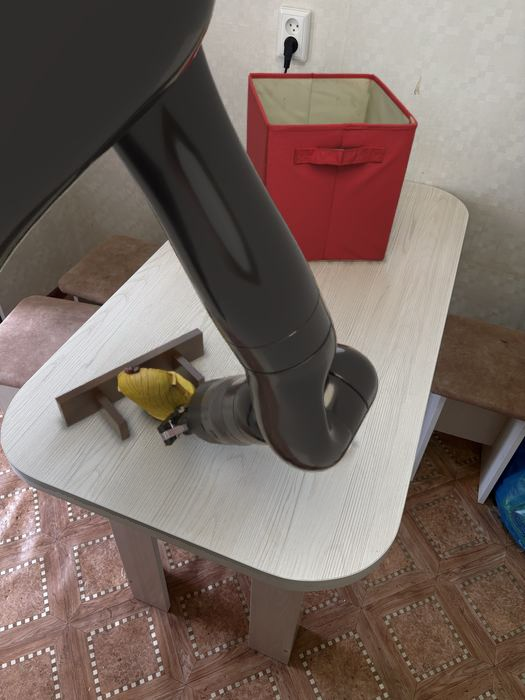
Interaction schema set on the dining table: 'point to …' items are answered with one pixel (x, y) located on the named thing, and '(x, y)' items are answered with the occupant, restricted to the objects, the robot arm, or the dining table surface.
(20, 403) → the dining table surface
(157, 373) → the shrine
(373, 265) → the dining table surface
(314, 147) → the storage cube
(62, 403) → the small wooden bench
